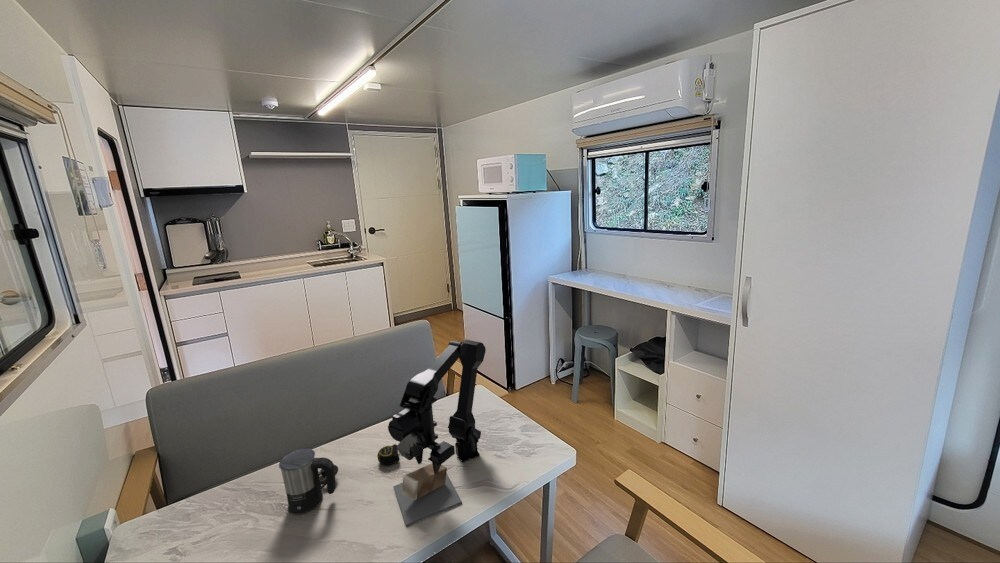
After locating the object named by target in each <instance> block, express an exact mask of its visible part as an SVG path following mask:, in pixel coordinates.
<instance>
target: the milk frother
mask: <svg viewBox="0 0 1000 563" xmlns="http://www.w3.org/2000/svg"><path fill="white" fill-rule="evenodd" d="M315 452H316V451H314V449H311V448H301V449H300V448H299V449H296V450H294V451H292V452H290V453H288V454H286V455H284V457H283V458H282V459H280V461H279V462H278V467H279V469H280V471H281V477H282V479H283V485H284V489H285V494H286V498H287V504H288V506H287V509H288V512H289V513H290V514H292V515H303V514H306V513H308V512H311V511H312V510H314V509H315V508H317V507H318V506H319V504H320V503H321V502H322V501H323V499H324V494H323V488H325V487H326V491H327V494H329V495H332V494H333V493H334V492H335V491H336V489H337V483H336V475H337V474H338V472H339V467H338V466H337V465H336V464H334V462H333V461H332V460H331V459H330V458H328V457H323V456H322V457H315V456H316V453H315ZM319 469H320V470H319ZM320 476H321V477H322V478H323V480H321V478H320Z"/></svg>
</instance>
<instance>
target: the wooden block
mask: <svg viewBox="0 0 1000 563" xmlns="http://www.w3.org/2000/svg"><path fill="white" fill-rule="evenodd" d="M447 471H448V468H447V467H446V466H445V465H443V464H441V466H440V469H439V471H438V473H437V474H435V473H434V470H433V465H432V462H431V463H430V464H426V465H425V466H422V467H419V469H416V470H414V471H411V472H409V473H407V474H404V475H403V477H402V483H403V484H402V494H404V495H405V496H407V497H408V498H410V499H411V500H413V501H414V500H416V499H418V498H420V497H422V496H423V495H425V494H427V493H429V492H431V491H433V490H435V489H437V488H439V487H441V486H443V485H445V481H446V473H447Z"/></svg>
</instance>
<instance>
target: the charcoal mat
mask: <svg viewBox="0 0 1000 563" xmlns="http://www.w3.org/2000/svg"><path fill="white" fill-rule="evenodd" d="M402 484H403V482H401V483H398V484H395V485H393V486H392V488H393V490H394V495H395V497H396V500H397V502H398V503H397V504H398V506H399V509H400V512H401V515H402V519H403V521H404V524H405V525H404V526H405V527H409V526H412V525H413V524H417V523H419V522H421V521H424V520H425V519H428V518H431V517H432V516H435V515H437V514H440V513H442V512H445V511H447V510H450V509H452V508H454V507H456V506H459V505H461V504H462V503H463V502H462V501H463V500H462V499H461V497H460V495H459V494H458V491H457V490H456V488H455V486H454V484H453V482H452V480H451V478H450V477H449V475H448V473H447V472H446V481H445V485H443V486H441V487H439V488H437V489H435V490H433V491H431V492H429V493H427V494H425V495H423V496H422V497H420V498H418V499H416V500H414V501H413V500H411V499H410V498H408V497H407V496H405V495H404V494H402Z"/></svg>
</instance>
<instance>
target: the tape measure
mask: <svg viewBox="0 0 1000 563" xmlns="http://www.w3.org/2000/svg"><path fill="white" fill-rule="evenodd" d="M397 445H398V444H396V443H395V444H394V443H393V444H392V445H386V446H383V447H381V448H379V450H378V452H377V460H378V462H379V464H380V465H382V466H389V465H392V464H394V463H398V462H399V461H400V456H399V454H400V453H399V451H398V449H397Z"/></svg>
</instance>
